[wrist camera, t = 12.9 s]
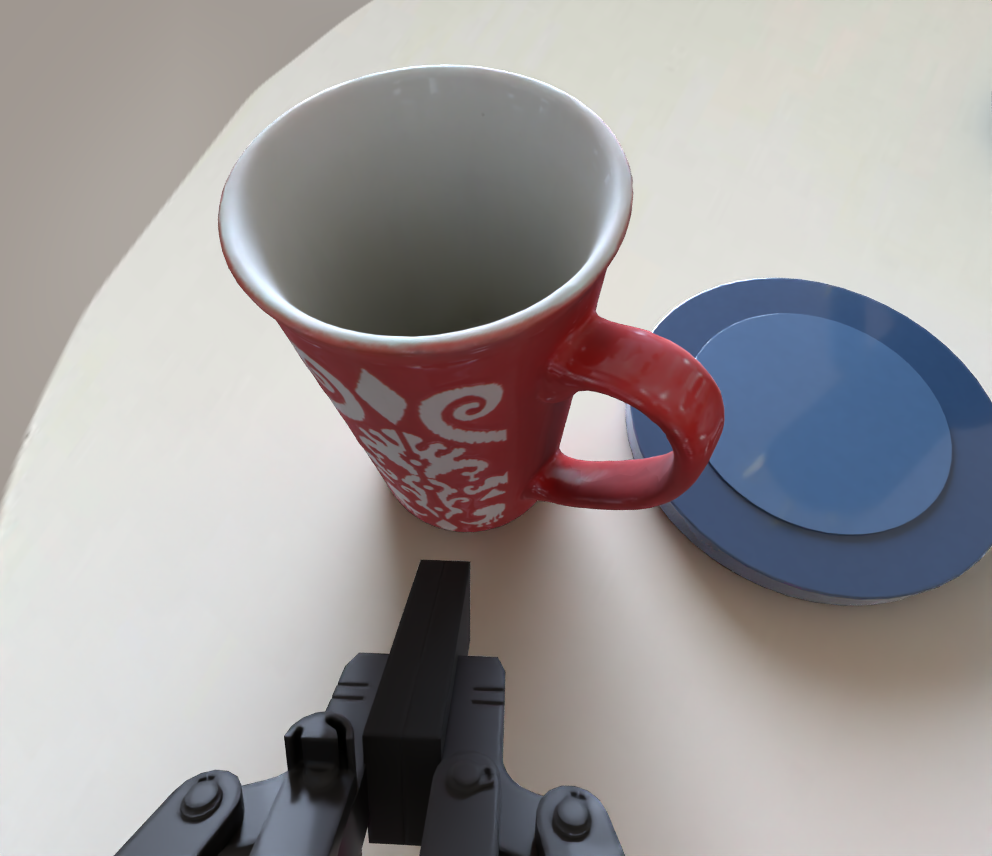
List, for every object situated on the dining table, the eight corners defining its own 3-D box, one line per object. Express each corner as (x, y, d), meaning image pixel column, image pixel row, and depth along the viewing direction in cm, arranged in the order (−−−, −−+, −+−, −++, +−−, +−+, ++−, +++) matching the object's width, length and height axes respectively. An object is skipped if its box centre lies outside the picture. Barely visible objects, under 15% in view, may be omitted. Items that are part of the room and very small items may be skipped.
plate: (637, 596, 21) (644, 588, 20) (616, 290, 28) (620, 271, 27) (1054, 615, 20) (1086, 608, 19) (924, 298, 28) (943, 279, 26)
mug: (315, 464, 24) (126, 198, 12) (459, 332, 27) (421, 20, 15) (552, 673, 20) (620, 585, 8) (688, 489, 23) (881, 230, 11)
